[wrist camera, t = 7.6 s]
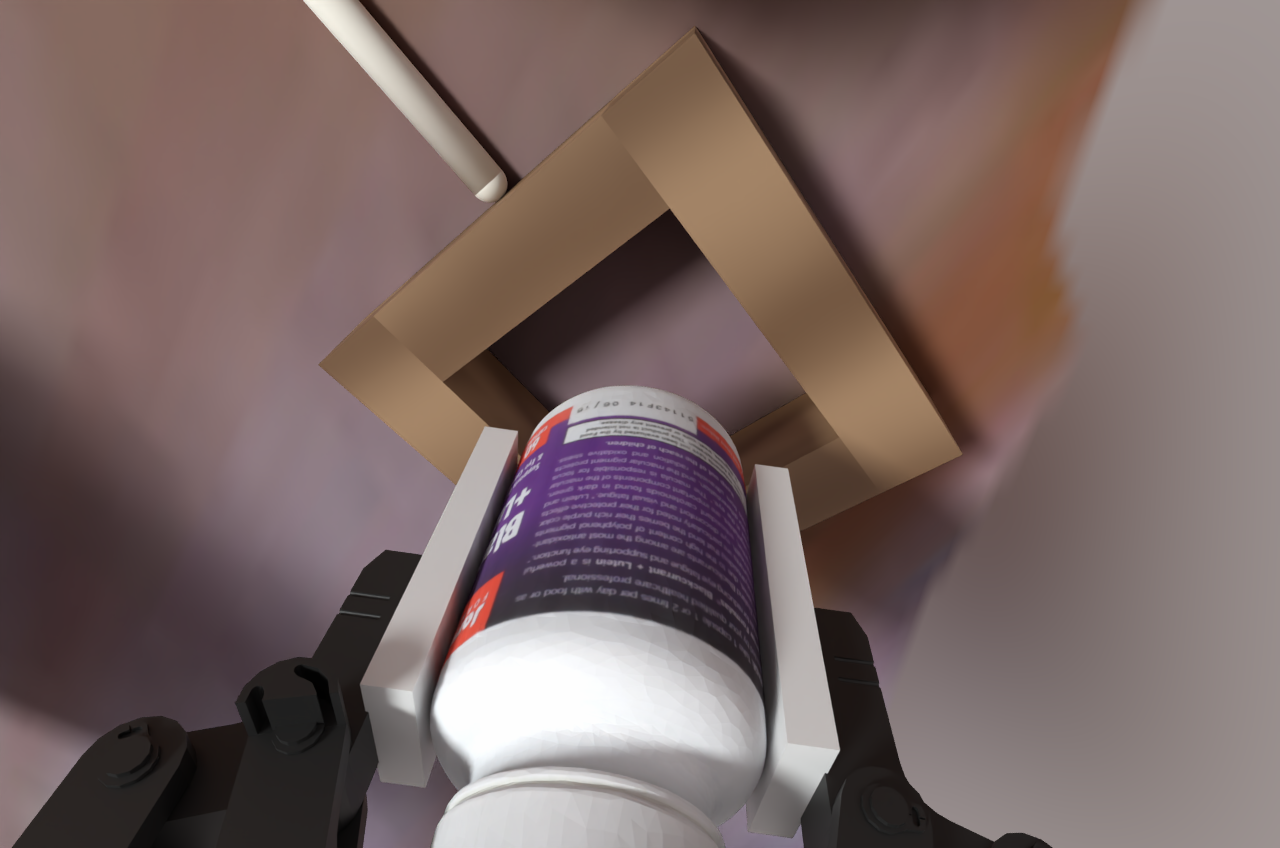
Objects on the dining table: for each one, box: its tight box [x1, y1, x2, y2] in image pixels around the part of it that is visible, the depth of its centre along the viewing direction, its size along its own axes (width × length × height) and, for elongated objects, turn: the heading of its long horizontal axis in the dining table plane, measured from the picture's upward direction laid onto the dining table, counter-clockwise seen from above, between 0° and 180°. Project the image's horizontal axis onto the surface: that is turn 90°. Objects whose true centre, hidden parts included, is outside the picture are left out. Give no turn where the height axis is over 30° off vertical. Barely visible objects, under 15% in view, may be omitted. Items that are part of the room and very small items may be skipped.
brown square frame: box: [319, 26, 963, 531], centre depth 20 cm, size 13×13×3 cm
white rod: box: [303, 0, 507, 203], centre depth 16 cm, size 11×1×1 cm, turn 38°
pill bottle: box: [430, 385, 767, 848], centre depth 12 cm, size 5×5×10 cm
